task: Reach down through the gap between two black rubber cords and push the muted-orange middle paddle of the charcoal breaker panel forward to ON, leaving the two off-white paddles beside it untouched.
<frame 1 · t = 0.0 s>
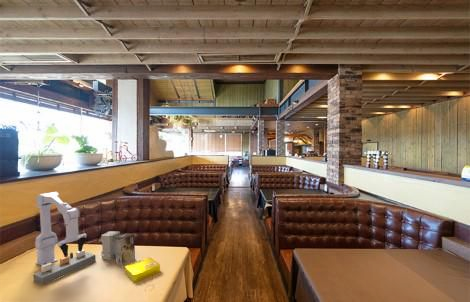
hand: (73, 253, 134), 10 cm above the table, tool pointing down, fingers open, 7 cm apart
element tile: (142, 273, 131), on the table
coffee box: (125, 261, 145), on the table
circuit breaker: (115, 257, 152), on the table
paddle 1: (46, 267, 129), point 6 cm above the table, slide at 0.0 cm
breaker panel: (67, 270, 136), on the table
paddle mid: (64, 260, 137), point 6 cm above the table, slide at 0.0 cm
cord posts: (59, 267, 139), on the table
paddle 2: (80, 253, 145), point 6 cm above the table, slide at 0.0 cm
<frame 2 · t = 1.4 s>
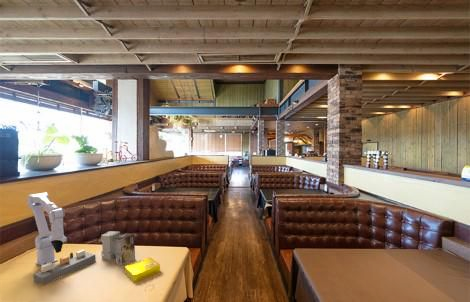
hand: (58, 252, 139), 9 cm above the table, tool pointing down, fingers closed
nothing on the table moved.
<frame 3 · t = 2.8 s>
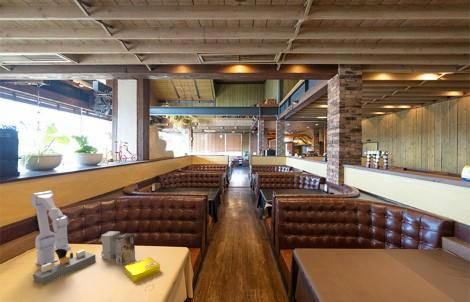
hand: (62, 260, 138), 5 cm above the table, tool pointing down, fingers closed
paddle mid: (64, 260, 137), point 6 cm above the table, slide at 0.1 cm, touching gripper
everything else where it was.
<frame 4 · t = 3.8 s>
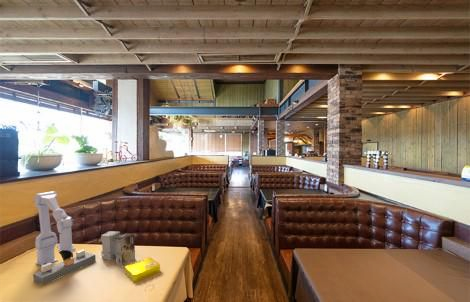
hand: (66, 262, 136), 5 cm above the table, tool pointing down, fingers closed
paddle mid: (69, 261, 135), point 6 cm above the table, slide at 4.5 cm, touching gripper
everything else where it was.
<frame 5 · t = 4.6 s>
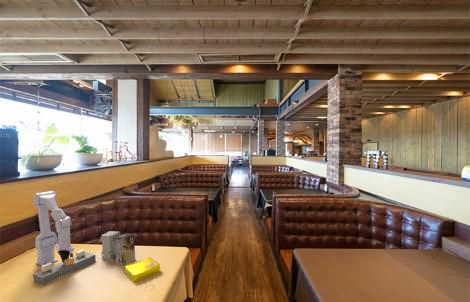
hand: (65, 262, 137), 5 cm above the table, tool pointing down, fingers closed
paddle mid: (69, 261, 135), point 6 cm above the table, slide at 4.5 cm
everything else where it was.
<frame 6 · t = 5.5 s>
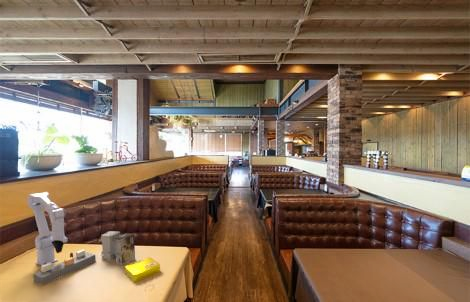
hand: (59, 252, 139), 9 cm above the table, tool pointing down, fingers closed
nothing on the table moved.
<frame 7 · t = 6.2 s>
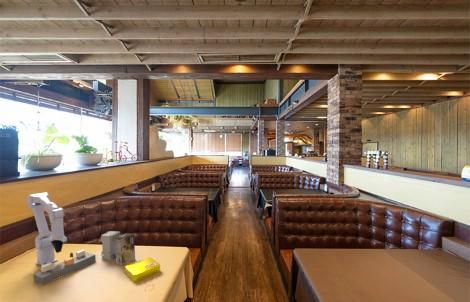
hand: (58, 252, 139), 9 cm above the table, tool pointing down, fingers closed
nothing on the table moved.
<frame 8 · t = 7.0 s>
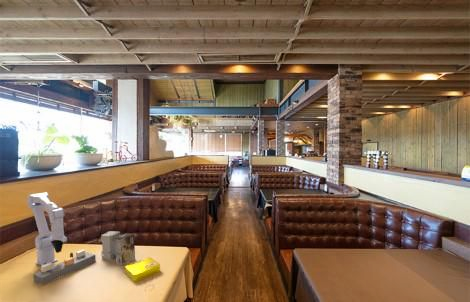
hand: (58, 252, 139), 9 cm above the table, tool pointing down, fingers closed
nothing on the table moved.
at the end: paddle mid slide at 4.5 cm; paddle 2 slide at 0.0 cm; paddle 1 slide at 0.0 cm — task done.
